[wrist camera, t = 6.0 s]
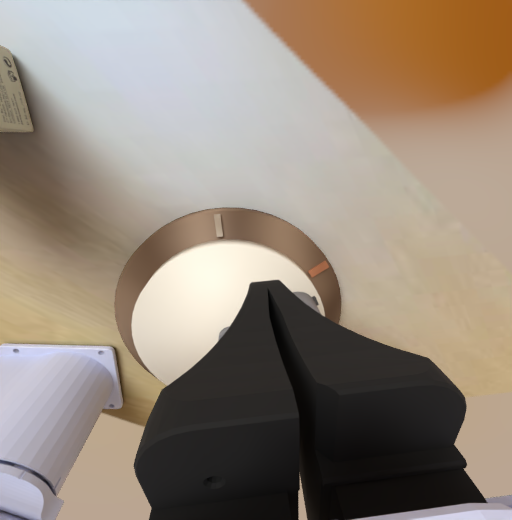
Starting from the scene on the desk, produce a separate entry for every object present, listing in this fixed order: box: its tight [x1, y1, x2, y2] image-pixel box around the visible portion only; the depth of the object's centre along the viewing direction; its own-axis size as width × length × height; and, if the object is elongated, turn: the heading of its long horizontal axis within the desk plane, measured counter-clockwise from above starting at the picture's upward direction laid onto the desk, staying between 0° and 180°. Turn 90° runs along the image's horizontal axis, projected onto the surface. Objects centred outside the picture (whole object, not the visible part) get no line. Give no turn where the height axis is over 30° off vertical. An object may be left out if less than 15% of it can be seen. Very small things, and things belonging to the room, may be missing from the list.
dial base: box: [115, 208, 341, 378], centre depth 21 cm, size 19×19×1 cm
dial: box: [131, 239, 325, 386], centre depth 18 cm, size 15×15×5 cm
